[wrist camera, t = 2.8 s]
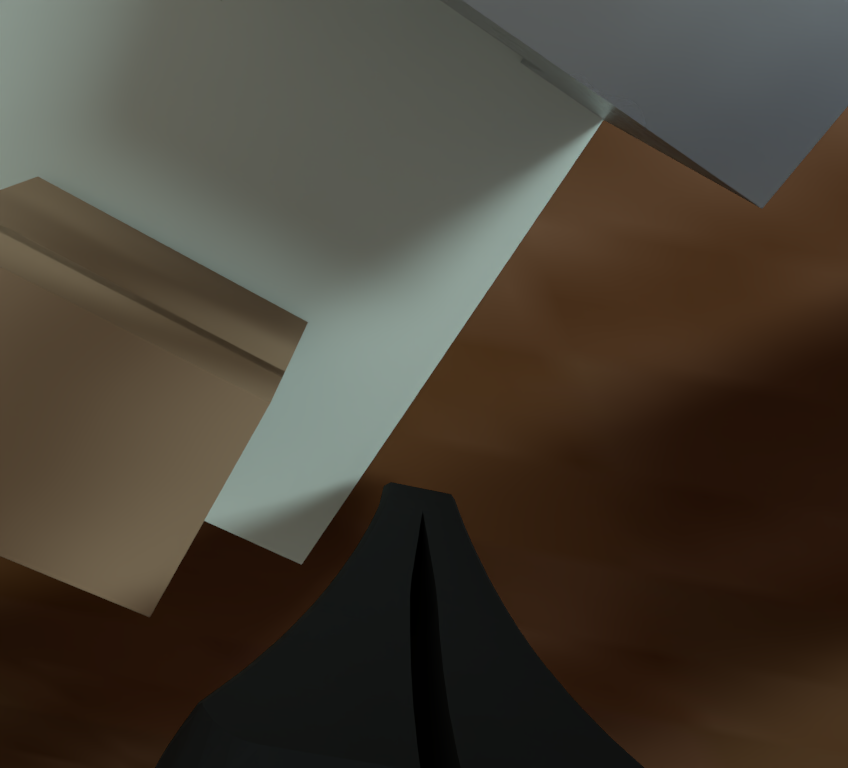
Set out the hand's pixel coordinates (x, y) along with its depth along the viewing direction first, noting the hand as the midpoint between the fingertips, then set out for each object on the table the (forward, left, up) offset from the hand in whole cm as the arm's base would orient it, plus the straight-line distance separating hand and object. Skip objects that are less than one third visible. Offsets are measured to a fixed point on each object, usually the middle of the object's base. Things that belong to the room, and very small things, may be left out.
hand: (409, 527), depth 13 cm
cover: (+6, 0, -1) cm, 6 cm away
